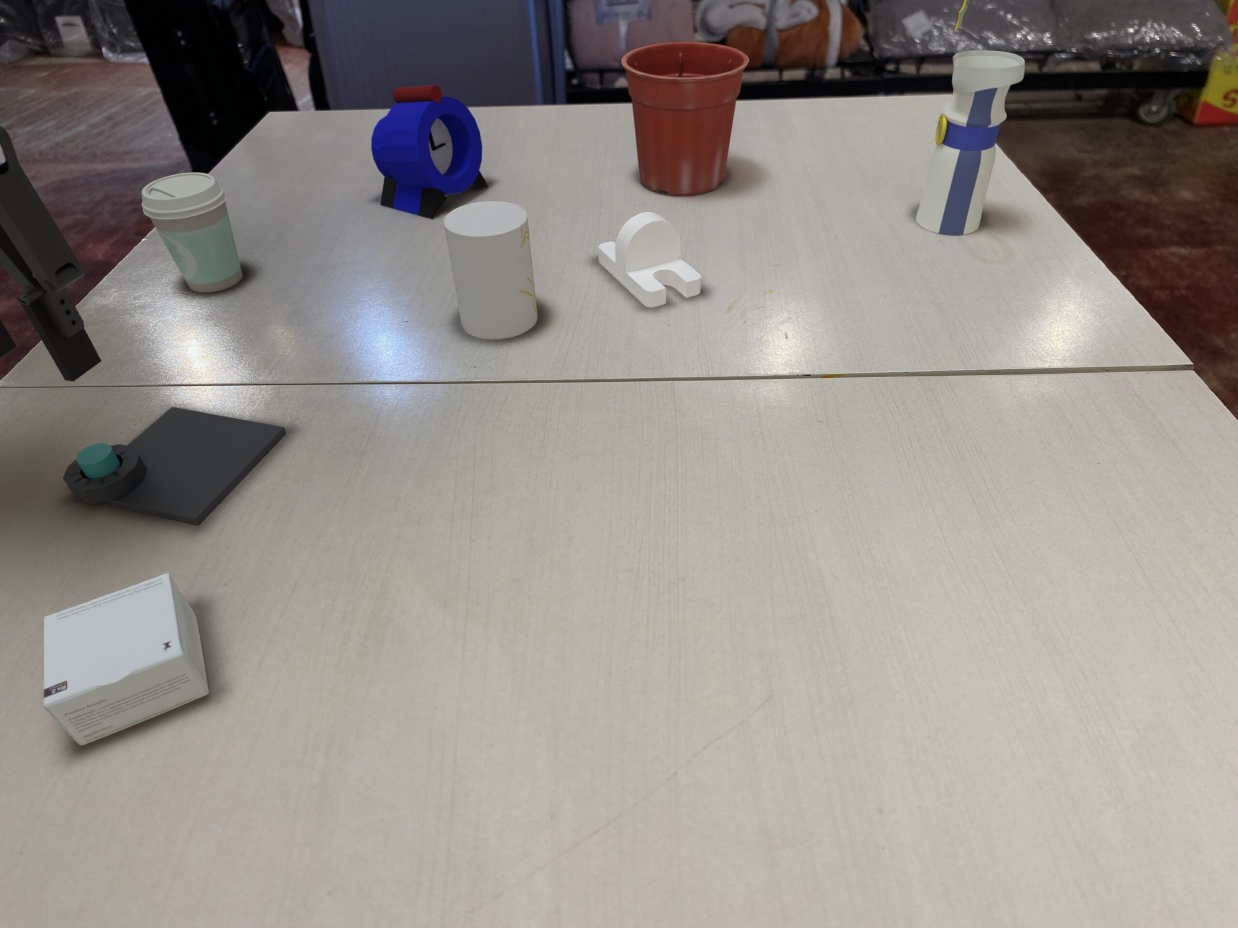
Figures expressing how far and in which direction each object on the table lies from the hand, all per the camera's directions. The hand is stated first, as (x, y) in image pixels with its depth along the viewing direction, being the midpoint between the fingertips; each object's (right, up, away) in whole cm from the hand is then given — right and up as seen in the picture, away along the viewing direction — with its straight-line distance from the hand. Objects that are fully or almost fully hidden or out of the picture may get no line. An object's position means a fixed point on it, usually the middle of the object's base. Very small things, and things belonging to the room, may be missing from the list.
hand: (40, 362), depth 59 cm
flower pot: (+51, +33, +56) cm, 83 cm away
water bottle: (+84, +23, +44) cm, 98 cm away
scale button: (0, -8, +7) cm, 10 cm away
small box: (+11, -22, -5) cm, 25 cm away
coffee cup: (-5, +14, +36) cm, 39 cm away
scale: (+5, -8, +11) cm, 14 cm away
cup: (+30, +7, +28) cm, 41 cm away
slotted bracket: (+46, +14, +34) cm, 59 cm away
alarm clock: (+16, +30, +54) cm, 64 cm away
